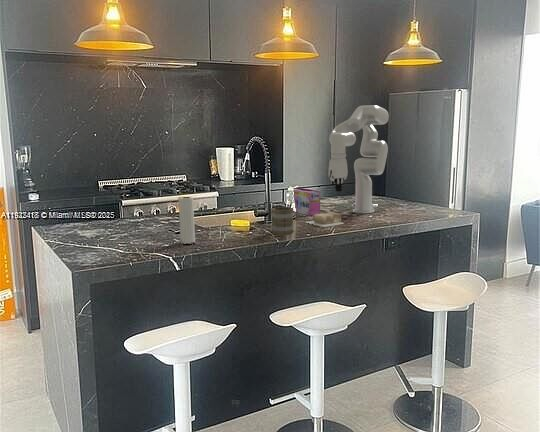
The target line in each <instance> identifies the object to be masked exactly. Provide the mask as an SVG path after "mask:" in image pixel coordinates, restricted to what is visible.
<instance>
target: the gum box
mask: <svg viewBox="0 0 540 432" xmlns="http://www.w3.org/2000/svg"><path fill="white" fill-rule="evenodd" d="M293 189H294V200H295V208H296V212H295V213H298V214H300V215H301V214H302V215H306V216H309V217H311V215H312V216H314V214H321V191H320V190H314V189H307V188H303V187H296V188H293Z"/></svg>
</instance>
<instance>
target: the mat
mask: <svg viewBox="0 0 540 432" xmlns="http://www.w3.org/2000/svg"><path fill="white" fill-rule="evenodd" d="M304 223H305V224H308V223H309V225H312V224H313V226H318V227H321V228H328V227H334V226H335V227H336V226H341V225H345V222H342V221H340V222H336V223H330V224H324V225H323V224H319V223H315V222H314V220H312V221H311V220H310V221H305V222H304Z"/></svg>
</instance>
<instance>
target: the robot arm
mask: <svg viewBox="0 0 540 432" xmlns="http://www.w3.org/2000/svg"><path fill="white" fill-rule="evenodd" d="M389 115H390V114H389V112H388V110H386V109H385V108H384V107H381V106H379V105H375V104H374V105H372V104H371V105H368V104H367V105H359V106H358V107H357V108H356V109H355V110H354V111H353V113H352V115H350V117H349V118H348V119H347V120H345V121H343V122H341V123H339V124H337V125H336V126H335V127H334V128H333V130H332V131H331V132H330V134H329V138H328V139H329V144H330V152H331V155H330V156H331V157H330V159H329V164H328V178H329V181H330V182H333V184H334V185H335V187H334V189H335V192H342V190H343V189H342V184H343V183H344V181H345V180H347V178H348V175H349V174H348V173H349V172H348V171H349V170H348V162H347V161H348V160H347V159H346V157H347V153H346V151H347V150H346V147H351V146H353V145H355V143H356V142H357V136H356V135H355V133H356V132H359V131H360V130H362V131H363V132H362V134H363V135H362V137H361V138H362V139H361V144H360V149H359V153H360V154H359V155H361V156H362V157H359V158H357V159H355V161H354V163H353V170H354V175H355V176H354V178H355V197H354V198H355V202H354V204H355V207H354V208H353V209H352V212H353V213H354V214H373V213H374V212H375V209H374V208H378V204H377V203H375V204H374V203H373V202H372V201H373V181H372V178H371V177H370V176H371V175H373V176H380V175H382V174H383V173H384V171H385V167H386V162H387V157H388V153H389V152H388V149H389V146H388V144H387V142H386V141H385V140H378V136H379V133H378V131H377V129H376V128H375V126H374V125H379V126H381V125H385V124H387V123H388V122H389V118H390V117H389Z"/></svg>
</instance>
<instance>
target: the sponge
mask: <svg viewBox="0 0 540 432" xmlns="http://www.w3.org/2000/svg"><path fill="white" fill-rule="evenodd" d="M313 221H314V222H315V223H319V224H323V225H324V224H330V223H336V222H342V213H339V212H333V211H329V212H320V214H314V215H313Z"/></svg>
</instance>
